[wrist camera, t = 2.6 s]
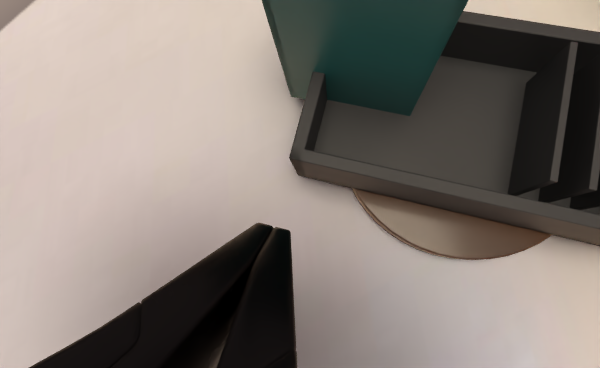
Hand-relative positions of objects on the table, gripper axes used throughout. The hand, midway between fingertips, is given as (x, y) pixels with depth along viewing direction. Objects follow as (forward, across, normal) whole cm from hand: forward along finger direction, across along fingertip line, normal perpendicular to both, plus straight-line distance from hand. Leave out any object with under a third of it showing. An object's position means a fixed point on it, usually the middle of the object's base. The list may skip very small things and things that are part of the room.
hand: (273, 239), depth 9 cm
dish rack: (+13, -6, +2) cm, 14 cm away
